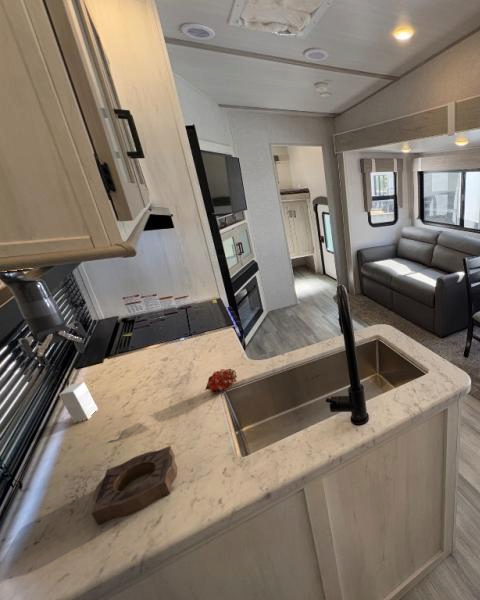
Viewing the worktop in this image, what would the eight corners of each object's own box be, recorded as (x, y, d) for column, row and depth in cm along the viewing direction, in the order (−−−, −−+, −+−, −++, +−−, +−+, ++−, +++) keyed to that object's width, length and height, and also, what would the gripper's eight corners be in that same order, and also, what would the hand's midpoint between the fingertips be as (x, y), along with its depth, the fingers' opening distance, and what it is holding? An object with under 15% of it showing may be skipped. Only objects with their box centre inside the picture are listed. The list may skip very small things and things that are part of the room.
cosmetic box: (84, 412, 111) (69, 384, 107) (98, 409, 112) (84, 381, 108) (73, 423, 106) (57, 394, 101) (88, 420, 107) (73, 391, 103)
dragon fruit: (242, 383, 125) (213, 403, 116) (229, 369, 126) (199, 388, 118) (242, 374, 119) (211, 394, 110) (228, 359, 120) (197, 378, 112)
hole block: (91, 531, 70) (83, 519, 69) (108, 479, 83) (103, 468, 82) (174, 494, 77) (169, 483, 76) (179, 452, 90) (174, 442, 89)
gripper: (65, 303, 102) (85, 346, 107) (1, 320, 89) (28, 368, 95) (78, 305, 99) (97, 349, 105) (13, 323, 87) (40, 372, 92)
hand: (64, 358), depth 100 cm, fingers open, 8 cm apart
